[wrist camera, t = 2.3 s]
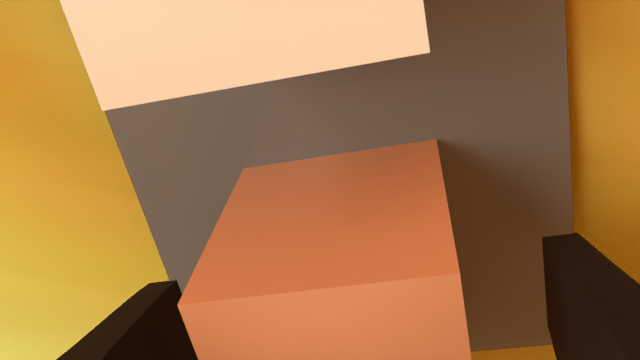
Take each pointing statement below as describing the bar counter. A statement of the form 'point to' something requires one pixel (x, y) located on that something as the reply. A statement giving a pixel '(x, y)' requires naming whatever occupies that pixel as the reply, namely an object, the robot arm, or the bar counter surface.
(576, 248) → the robot arm
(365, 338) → the terracotta block
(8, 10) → the bar counter surface
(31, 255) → the bar counter surface
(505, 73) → the baseplate
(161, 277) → the bar counter surface
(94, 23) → the cream block
